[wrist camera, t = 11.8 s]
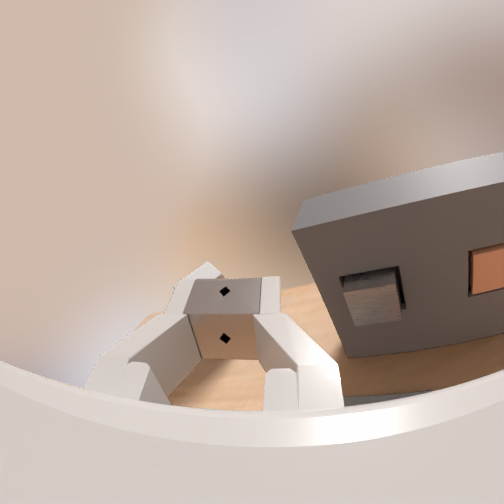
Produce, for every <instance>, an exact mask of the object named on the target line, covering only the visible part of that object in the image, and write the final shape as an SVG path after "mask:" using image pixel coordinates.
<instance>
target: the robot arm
mask: <svg viewBox="0 0 504 504" xmlns="http://www.w3.org/2000/svg"><path fill="white" fill-rule="evenodd" d="M202 359H241V360H259V363H260V364H261V366H262V367H263V369H264V370H265V372H266V375H265V390H264V404H263V411H237V410H217V409H203V408H192V407H182V406H173V405H171V403H170V401H169V400H168V398H167V397H168V396H169V395H170V394H171V393H172V392H173V391H174V390H175V389H176V388H177V387H178V386H179V384H180V383H181V382H182V381H183V380H184V379H185V378H186V377H187V376H188V375H189V374H190V373H191V372H192V371H193V369H194V368H195V367H196V366H197V365H198V364H199V363H200V362H201V361H202ZM0 504H504V369H503V370H501V371H498V372H495V373H493V374H490V375H487V376H484V377H481V378H478V379H475V380H472V381H469V382H465V383H462V384H459V385H455V386H452V387H448V388H444V389H440V390H436V391H432V392H428V393H424V394H419V395H415V396H410V397H405V398H400V399H395V400H389V401H383V402H377V403H370V404H363V405H355V406H347V407H344V401H343V394H342V387H341V381H340V374H339V368H338V364H337V363H336V362H335V361H334V360H333V359H332V358H331V357H330V356H329V355H328V354H327V353H326V352H325V351H324V350H323V349H322V348H320V347H319V346H318V345H317V344H316V343H315V342H314V341H313V340H312V339H311V338H310V337H309V336H308V335H307V334H306V333H305V332H304V331H303V330H302V329H301V328H300V327H299V326H298V325H297V324H296V323H295V322H294V321H293V320H292V319H291V318H290V317H289V316H288V315H287V314H286V313H281V291H280V277H279V276H274V277H263V278H244V279H181V280H179V281H178V283H177V285H176V288H175V290H174V292H173V295H172V297H171V299H170V301H169V303H168V306H167V308H166V310H165V313H164V314H158V315H157V316H155V317H154V318H153V319H151V320H150V321H148V322H147V323H145V324H144V325H143V326H141V327H140V328H138V329H137V330H135V331H134V332H133V333H131V334H130V335H128V336H127V337H126V338H124V339H123V340H121V341H120V342H118V343H117V344H116V345H114V346H113V347H111V348H110V349H108V350H107V351H105V352H104V353H103V354H101V355H100V356H99V358H98V360H97V362H96V364H95V366H94V368H93V370H92V372H91V374H90V376H89V378H88V380H87V382H86V384H85V386H84V388H80V387H76V386H72V385H69V384H65V383H62V382H58V381H55V380H52V379H49V378H46V377H43V376H40V375H37V374H34V373H31V372H28V371H26V370H23V369H20V368H18V367H15V366H12V365H10V364H7V363H5V362H2V361H0Z"/></svg>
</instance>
